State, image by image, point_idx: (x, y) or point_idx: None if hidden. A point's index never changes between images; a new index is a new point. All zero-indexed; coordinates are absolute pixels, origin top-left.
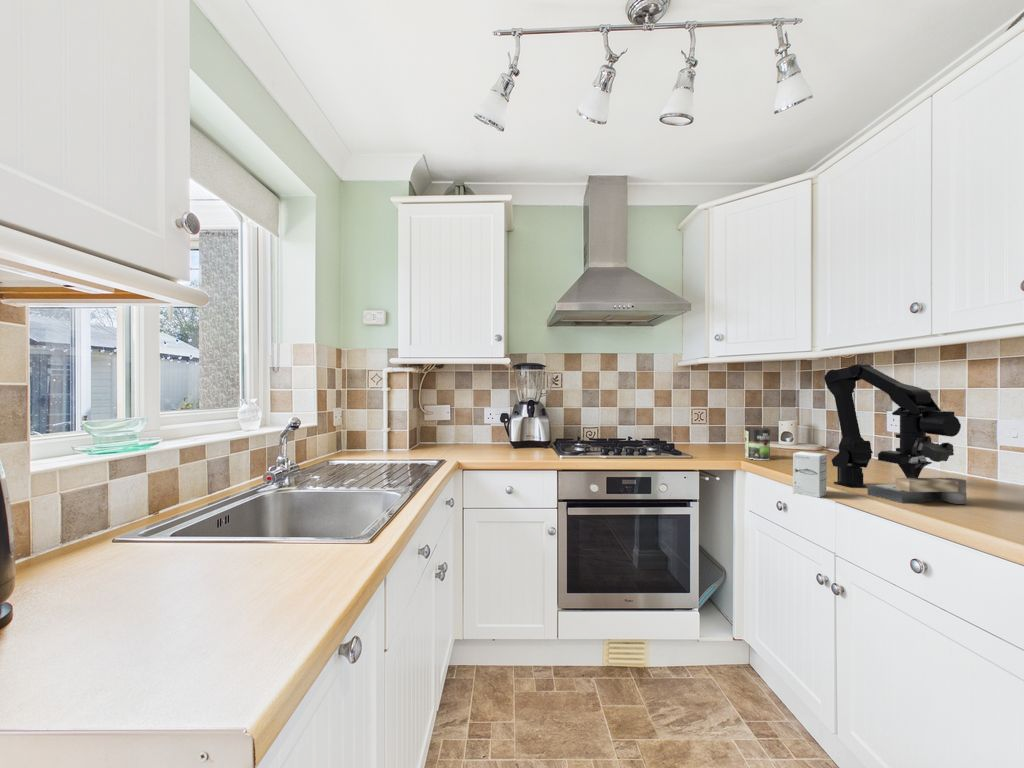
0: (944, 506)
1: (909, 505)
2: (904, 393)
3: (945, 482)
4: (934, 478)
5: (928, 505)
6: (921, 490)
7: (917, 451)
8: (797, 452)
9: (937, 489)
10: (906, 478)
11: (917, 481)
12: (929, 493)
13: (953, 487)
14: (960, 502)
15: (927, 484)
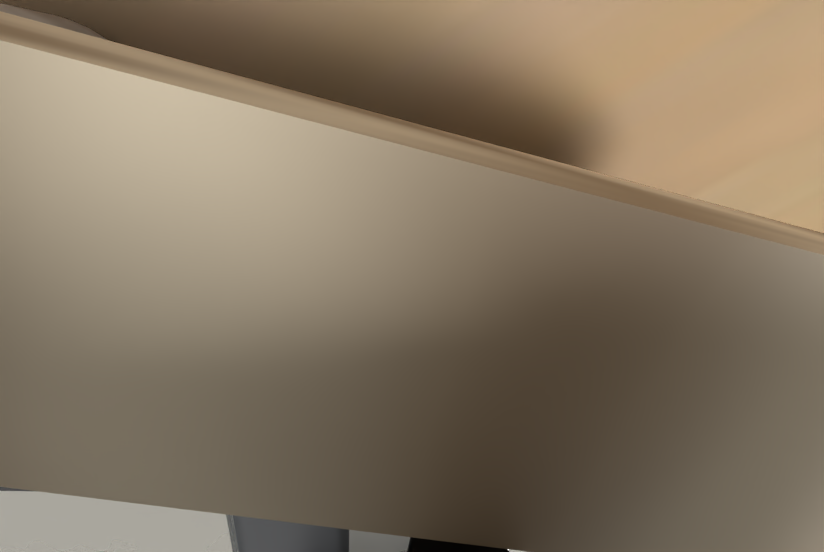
0: (391, 53)
1: (715, 200)
2: None
3: (186, 77)
4: (125, 441)
5: (523, 145)
6: (729, 211)
7: None
8: None
9: (440, 135)
10: (797, 541)
11: None
12: None
13: (8, 22)
14: (83, 29)
15: (716, 214)
